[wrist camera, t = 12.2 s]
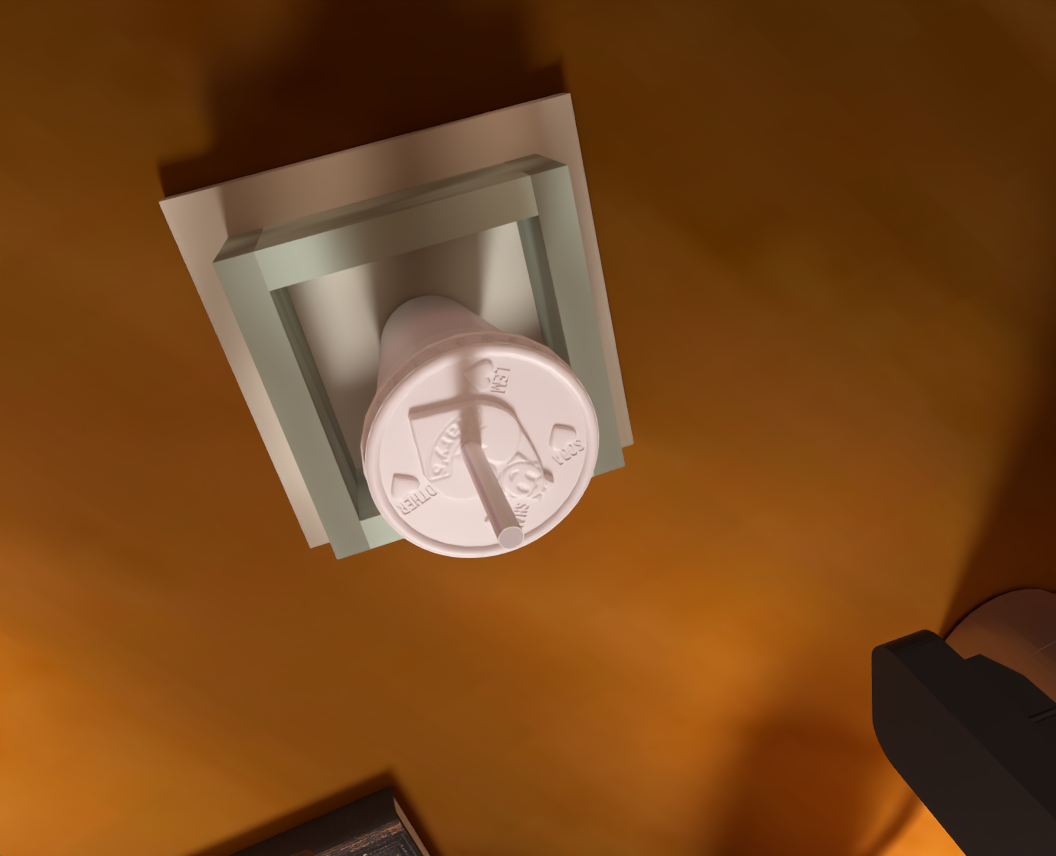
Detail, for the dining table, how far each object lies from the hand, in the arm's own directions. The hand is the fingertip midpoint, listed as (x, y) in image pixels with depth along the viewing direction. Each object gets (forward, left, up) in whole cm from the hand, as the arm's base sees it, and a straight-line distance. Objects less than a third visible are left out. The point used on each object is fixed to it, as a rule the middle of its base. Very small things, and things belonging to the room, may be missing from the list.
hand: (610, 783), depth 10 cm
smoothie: (0, 0, -20) cm, 20 cm away
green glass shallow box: (0, 0, -21) cm, 21 cm away
